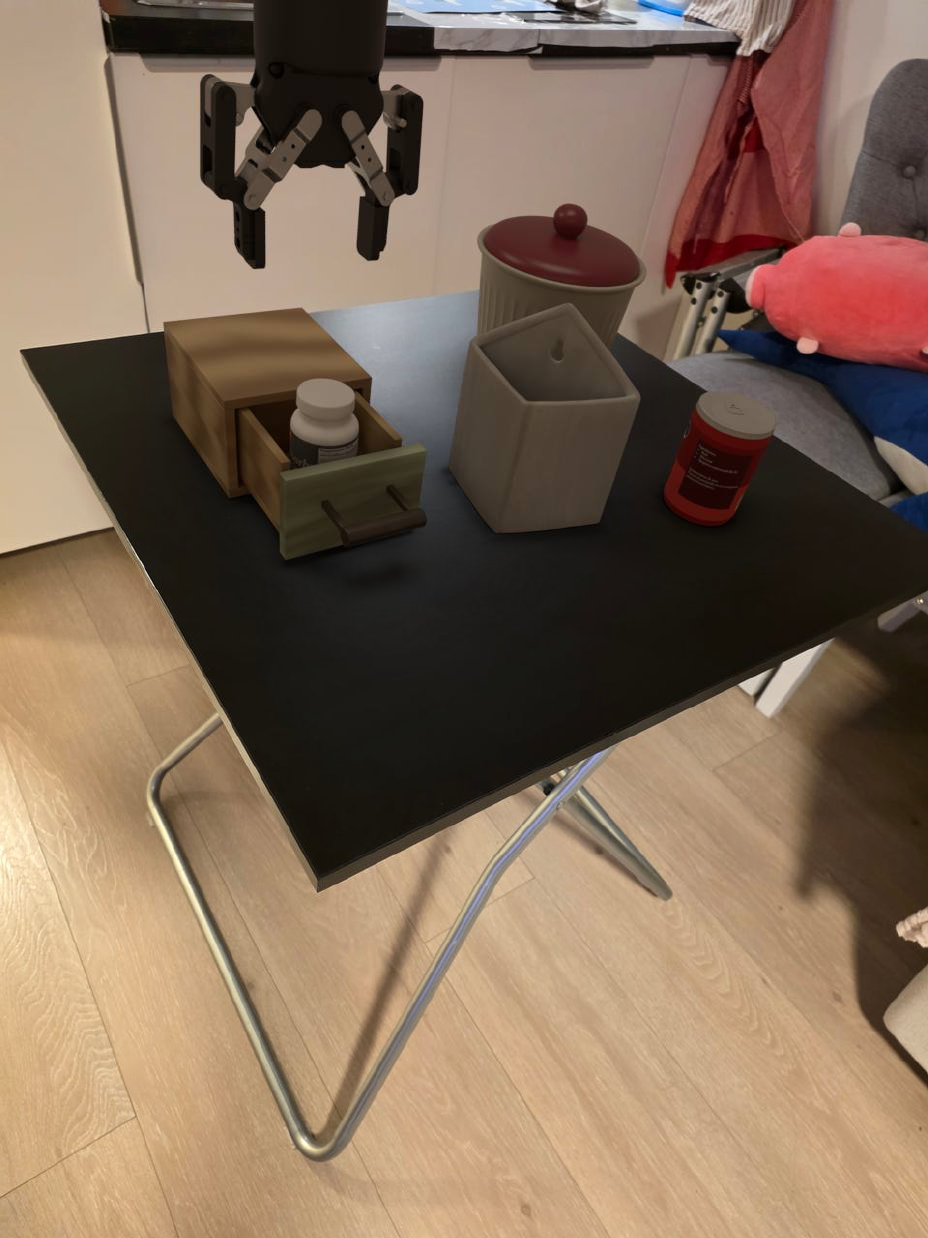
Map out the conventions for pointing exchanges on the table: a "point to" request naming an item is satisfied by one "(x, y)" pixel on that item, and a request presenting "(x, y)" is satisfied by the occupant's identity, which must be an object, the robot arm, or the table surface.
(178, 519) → the table surface
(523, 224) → the canister
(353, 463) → the drawer
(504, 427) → the planter
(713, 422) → the red supplement jar
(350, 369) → the cabinet
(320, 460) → the pill bottle
